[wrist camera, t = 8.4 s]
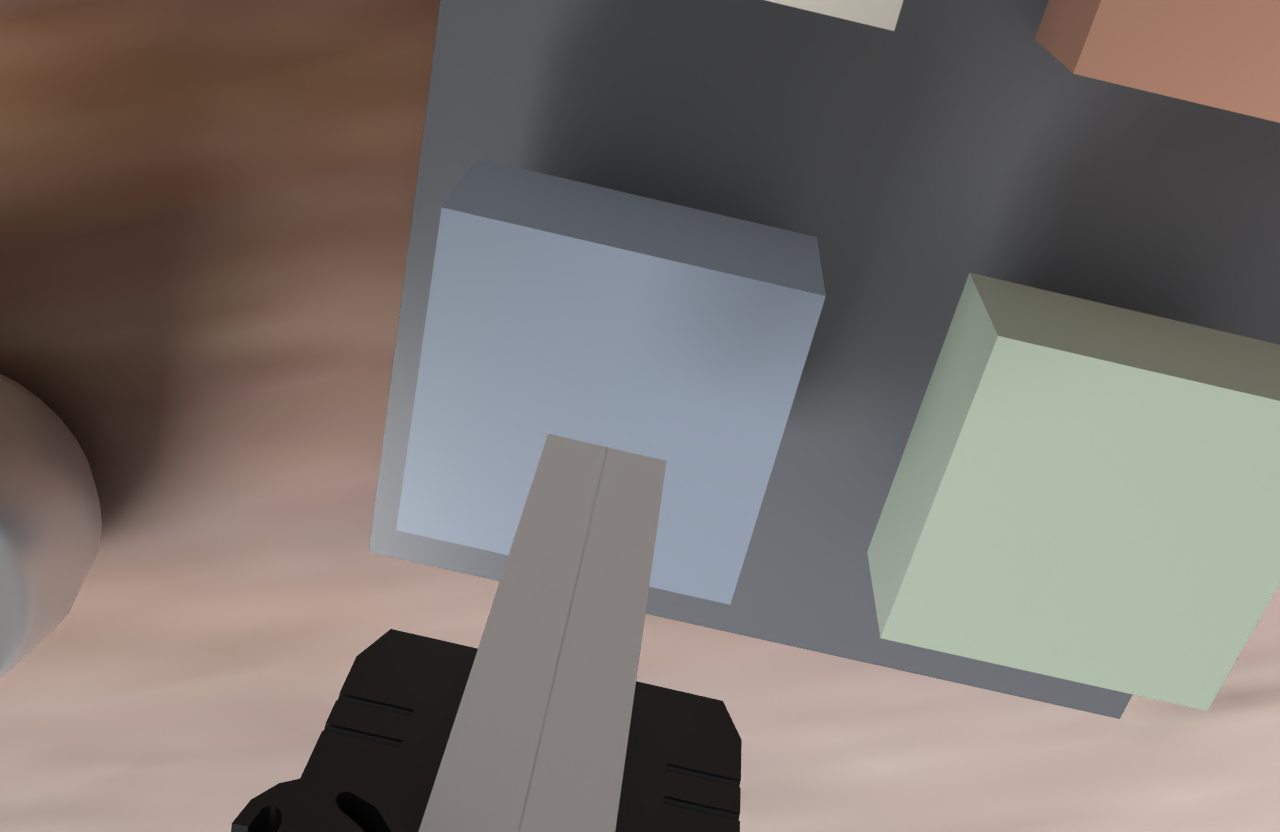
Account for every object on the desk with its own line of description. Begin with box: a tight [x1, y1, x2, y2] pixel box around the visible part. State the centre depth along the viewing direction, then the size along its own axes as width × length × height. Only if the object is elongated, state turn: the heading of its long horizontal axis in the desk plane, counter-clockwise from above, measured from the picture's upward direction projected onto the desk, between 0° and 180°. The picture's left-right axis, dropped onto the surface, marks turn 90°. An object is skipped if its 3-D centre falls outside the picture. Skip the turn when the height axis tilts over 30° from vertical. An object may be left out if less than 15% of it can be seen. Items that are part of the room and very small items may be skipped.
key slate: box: [396, 158, 826, 605], centre depth 19 cm, size 6×6×2 cm
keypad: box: [369, 0, 1280, 719], centre depth 20 cm, size 16×22×3 cm
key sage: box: [867, 273, 1280, 711], centre depth 20 cm, size 6×6×2 cm
